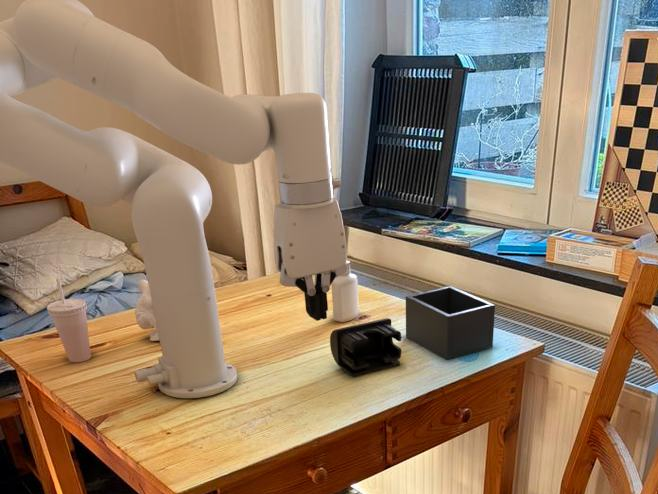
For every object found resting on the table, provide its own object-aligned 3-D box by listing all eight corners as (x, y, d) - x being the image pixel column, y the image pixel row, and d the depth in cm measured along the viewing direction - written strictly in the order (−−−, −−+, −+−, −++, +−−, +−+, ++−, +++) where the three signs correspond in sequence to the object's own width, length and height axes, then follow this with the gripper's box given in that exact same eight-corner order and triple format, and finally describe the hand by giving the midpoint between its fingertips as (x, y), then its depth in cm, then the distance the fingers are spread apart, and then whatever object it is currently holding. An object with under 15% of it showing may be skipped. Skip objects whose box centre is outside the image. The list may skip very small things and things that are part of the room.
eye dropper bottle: (364, 318, 143) (361, 255, 136) (336, 323, 141) (333, 259, 135) (355, 311, 146) (352, 249, 140) (328, 316, 145) (324, 254, 138)
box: (446, 360, 125) (448, 316, 121) (405, 337, 134) (405, 296, 130) (492, 347, 129) (495, 304, 124) (449, 326, 138) (450, 285, 134)
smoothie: (81, 348, 135) (62, 271, 128) (106, 354, 132) (88, 276, 125) (53, 361, 131) (31, 282, 123) (78, 368, 128) (57, 287, 120)
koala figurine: (188, 339, 137) (177, 274, 131) (154, 349, 134) (141, 282, 127) (167, 327, 143) (156, 264, 137) (134, 336, 140) (121, 272, 133)
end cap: (383, 351, 129) (382, 313, 125) (403, 365, 124) (403, 326, 120) (330, 363, 125) (328, 325, 122) (349, 378, 120) (347, 338, 116)
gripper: (339, 180, 111) (348, 300, 121) (246, 196, 106) (263, 321, 115) (365, 187, 106) (371, 313, 116) (268, 205, 100) (284, 335, 110)
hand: (317, 317), depth 115 cm, fingers closed
